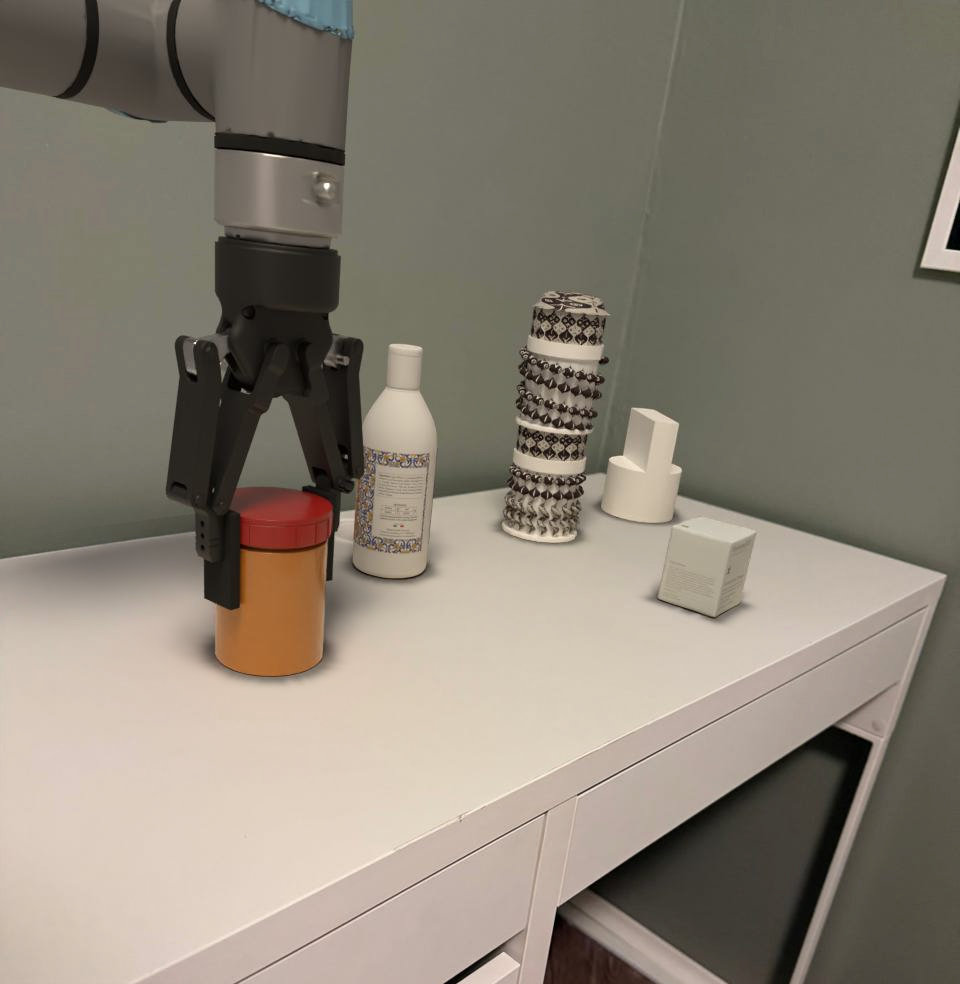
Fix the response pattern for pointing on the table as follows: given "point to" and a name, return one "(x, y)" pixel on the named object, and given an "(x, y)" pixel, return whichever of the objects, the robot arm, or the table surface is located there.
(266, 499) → the lid
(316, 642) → the jam jar
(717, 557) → the product box
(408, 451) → the bath foam
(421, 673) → the table surface
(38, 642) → the table surface
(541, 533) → the decorative candle
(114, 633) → the table surface
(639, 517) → the cylinder with rectangular tab
